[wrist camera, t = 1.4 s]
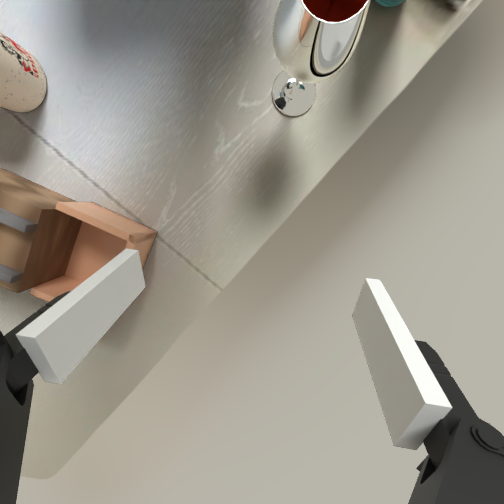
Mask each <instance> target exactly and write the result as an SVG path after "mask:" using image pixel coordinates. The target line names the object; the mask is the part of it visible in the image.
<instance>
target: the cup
mask: <svg viewBox="0 0 504 504" xmlns="http://www.w3.org/2000/svg"><path fill="white" fill-rule="evenodd" d="M55 209H57V210H59V211H61V212H64V213H66V214H68V215H70V216H73V217H75V218H77V219H79V220H82V224H81V227H80V230H79V233H78V236H77V239H76V242H75V245H74V248H73V251H72V254H71V257H70V260H69V264H68V267H67V270H66V273H65V275H64V276H61V277H59V278H56V279H53V280H51V281H48V282H46V283H43V284H40V285H38V286H35V287H32V288H31V291H30V294H31V295H33V296H36V297H38V298H41V299H43V300H46V301H48V302H50V301H51V300H53V299H54V298H55V297H57V296H59V295H61V294H63V293H65V292H67V291H72V290H74V289H75V288H76V287H77V286H79V285H80V284H81V283H83V282H84V281H85V280H86V279H88V278H89V277H90V276H92V275H93V274H94V273H95V272H97V271H98V270H99V269H101V268H102V267H103V266H104V265H106V264H107V263H108V262H110V261H111V260H112V259H113V258H115V257H116V256H117V255H119V254H120V253H121V252H122V251H124V250H125V249H134V250H138V251H139V256H140V261H141V266H142V270H143V268H144V265H145V263H146V260H147V257H148V255H149V252H150V250H151V247H152V245H153V242H154V240H155V237H156V235H157V231H155V230H153V229H151V228H149V227H146V226H144V225H142V224H140V223H138V222H135V221H133V220H131V219H129V218H126V217H124V216H122V215H120V214H118V213H115V212H113V211H111V210H109V209H107V208H104V207H102V206H100V205H98V204H95V203H93V202H57V205H56V208H55Z"/></svg>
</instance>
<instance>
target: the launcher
mask: <svg viewBox="0 0 504 504" xmlns="http://www.w3.org/2000/svg"><path fill="white" fill-rule="evenodd" d="M57 202H76V201H74V200H72V199H70V198H67V197H65V196H63V195H61V194H58V193H56V192H54V191H52V190H50V189H47V188H45V187H43V186H41V185H38V184H36V183H34V182H32V181H30V180H27V179H25V178H23V177H21V176H18V175H16V174H14V173H12V172H9V171H7V170H5V169H0V286H2V287H4V288H7V289H9V290H11V291H14V292H16V293H19V292H22V291H24V290H27V289H30V288H32V287H35V286H38V285H40V284H43V283H46V282H48V281H51V280H53V279H56V278H59V277H61V276H64V275H65V273H66V270H67V267H68V264H69V260H70V257H71V254H72V251H73V248H74V245H75V242H76V239H77V236H78V233H79V230H80V227H81V224H82V220H79V219H77V218H75V217H73V216H70V215H68V214H66V213H64V212H61V211H59V210H57V209H55V208H56V205H57Z"/></svg>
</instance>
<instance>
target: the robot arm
mask: <svg viewBox="0 0 504 504" xmlns="http://www.w3.org/2000/svg"><path fill="white" fill-rule="evenodd" d="M145 287H146V286H145V281H144V276H143V271H142V266H141V261H140V256H139V251H138V250H134V249H125V250H124V251H122V252H121V253H120V254H119V255H117V256H116V257H115V258H113V259H112V260H111V261H110V262H108V263H107V264H106V265H104V266H103V267H102V268H101V269H99V270H98V271H97V272H95V273H94V274H93V275H92V276H90V277H89V278H88V279H86V280H85V281H84V282H83V283H81V284H80V285H79V286H77V287H76V288H75V289H74V290H72V291H67V292H65V293H63V294H61V295H59V296H57V297H55V298H54V299H53V300H51V301H50V302H49V303H47V304H46V306H43V307H42V308H41V309H39V310H38V311H37V313H34V314H33V315H31V316H30V317H29V318H27V319H26V320H25V321H23V322H22V323H21V324H19V325H18V326H17V327H15V328H14V329H13V330H11V331H10V332H9V333H7V334H6V335H5V336H3V334H2V332H1V331H0V504H16V499H17V491H18V486H19V479H20V472H21V466H22V459H23V453H24V446H25V440H26V433H27V427H28V420H29V413H30V407H31V400H32V394H33V387H34V384H33V380H32V378H33V377H34V376H35V375H36V374H37V373H38V372H39V374H40V376H41V377H42V379H43V381H45V382H51V383H56V384H62V383H63V381H64V380H65V379H66V378H67V377H68V376H69V374H70V373H71V372H72V371H73V370H74V369H75V368H76V366H77V365H78V364H79V363H80V362H81V361H82V360H83V358H84V357H85V356H86V355H87V354H88V353H89V351H90V350H91V349H92V348H93V347H94V346H95V345H96V343H97V342H98V341H99V340H100V339H101V338H102V337H103V335H104V334H105V333H106V332H107V331H108V330H109V328H110V327H111V326H112V325H113V324H114V323H115V322H116V320H117V319H118V318H119V317H120V316H121V315H122V314H123V312H124V311H125V310H126V309H127V308H128V307H129V306H130V304H131V303H132V302H133V301H134V300H135V299H136V297H137V296H138V295H139V294H140V293H141V292H142V291H143V289H144V288H145ZM352 317H353V320H354V323H355V326H356V329H357V332H358V336H359V339H360V342H361V345H362V348H363V351H364V354H365V357H366V360H367V364H368V367H369V370H370V373H371V376H372V379H373V382H374V386H375V388H376V392H377V395H378V398H379V401H380V404H381V407H382V410H383V414H384V417H385V420H386V423H387V426H388V429H389V432H390V436H391V438H392V442H393V445H394V446H396V447H401V448H407V449H412V450H417V449H418V448H419V446H420V445H421V444H422V443H423V442H424V445H425V447H426V450H427V452H428V454H429V455H428V456H427V457H426V458H425V459H424V460H423V461H422V462H421V464H420V465H419V466H418V467H417V469H418V470H419V471H420V474H419V477H418V479H417V482H416V484H415V487H414V490H413V492H412V495H411V498H410V500H409V503H408V504H504V436H503V435H502V434H501V433H500V432H499V431H498V430H496V429H495V428H494V427H493V426H491V425H490V424H488V423H486V422H485V421H483V420H481V419H479V418H478V417H477V415H476V413H475V412H474V410H473V409H472V407H471V406H470V404H469V402H468V401H467V399H466V398H465V396H464V395H463V393H462V391H461V390H460V389H459V387H458V385H457V384H456V382H455V380H454V379H453V377H451V374H450V372H449V371H448V370H447V368H446V367H445V366H444V363H443V361H442V360H441V358H440V357H439V355H438V354H437V353H436V351H435V350H434V349H432V348H431V347H430V346H429V345H428V344H427V343H426V342H423V341H416V340H414V339H413V337H412V336H411V334H410V332H409V330H408V329H407V327H406V325H405V323H404V321H403V320H402V318H401V316H400V314H399V313H398V311H397V309H396V307H395V306H394V304H393V302H392V300H391V299H390V297H389V295H388V293H387V292H386V290H385V288H384V286H383V284H382V283H381V281H380V280H377V279H369V278H365V281H364V283H363V286H362V289H361V292H360V295H359V298H358V300H357V303H356V306H355V309H354V311H353V314H352Z"/></svg>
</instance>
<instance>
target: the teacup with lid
mask: <svg viewBox="0 0 504 504" xmlns="http://www.w3.org/2000/svg"><path fill="white" fill-rule="evenodd" d="M46 86H47V85H46V77H45V74H44V71H43V69H42V67H41V65H40V63H39V62H38V60H37V59H36V58H35V57H34V56H33V55H32V54H31V53H30V52H28V51H27V50H26V49H24V48H23V47H21V46H20V45H18V44H17V43H15V42H14V41H12V40H11V39H10V38H8V37H7V36H5V35H4V34H2V33H1V32H0V106H1V107H3V108H6V109H8V110H11V111H15V112H29V111H32V110H34V109H35V108H37V107H38V106H39V105H40V104H41V102H42V101H43V99H44V97H45V94H46Z"/></svg>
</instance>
